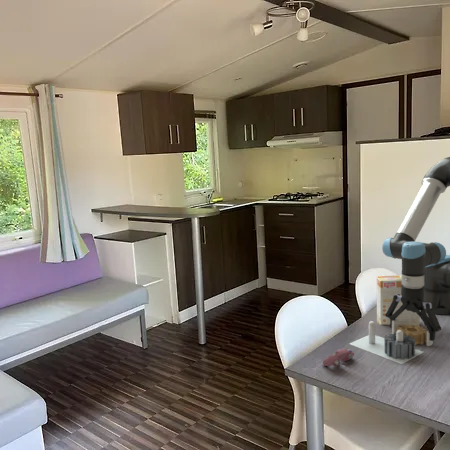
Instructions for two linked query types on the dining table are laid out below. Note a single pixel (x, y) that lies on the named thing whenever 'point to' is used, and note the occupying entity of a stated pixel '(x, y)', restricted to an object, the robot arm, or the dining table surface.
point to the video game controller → (338, 357)
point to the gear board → (380, 344)
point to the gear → (399, 346)
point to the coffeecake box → (385, 293)
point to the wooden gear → (415, 332)
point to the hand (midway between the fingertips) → (411, 342)
